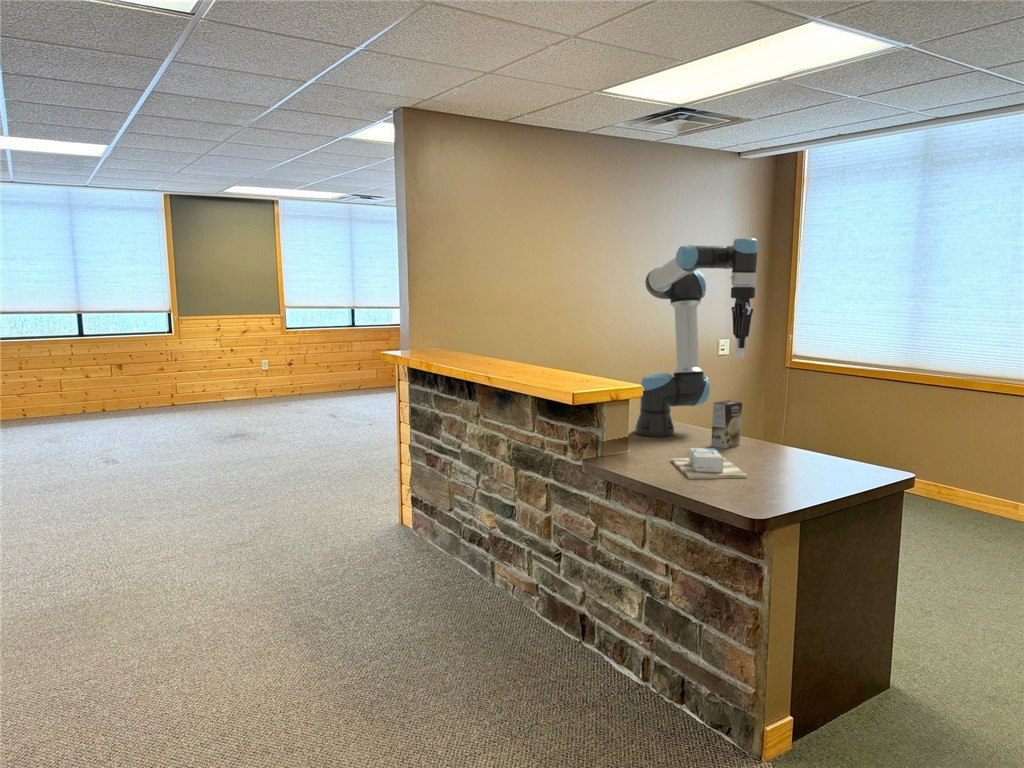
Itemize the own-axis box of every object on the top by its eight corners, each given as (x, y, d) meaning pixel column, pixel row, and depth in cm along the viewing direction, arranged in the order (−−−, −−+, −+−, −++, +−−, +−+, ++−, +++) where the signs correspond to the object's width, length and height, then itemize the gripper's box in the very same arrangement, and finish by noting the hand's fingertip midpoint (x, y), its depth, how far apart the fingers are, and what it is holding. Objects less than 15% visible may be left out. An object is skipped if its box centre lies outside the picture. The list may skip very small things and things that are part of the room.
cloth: (671, 461, 230) (671, 458, 230) (724, 460, 230) (724, 457, 230) (689, 478, 210) (689, 475, 210) (746, 477, 211) (747, 474, 211)
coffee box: (725, 449, 246) (727, 405, 244) (710, 445, 251) (712, 402, 249) (740, 445, 252) (742, 402, 249) (725, 441, 257) (727, 399, 254)
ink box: (715, 448, 224) (724, 457, 212) (715, 462, 224) (723, 472, 213) (689, 447, 224) (696, 456, 213) (688, 462, 225) (695, 471, 213)
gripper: (725, 286, 232) (721, 355, 236) (739, 286, 219) (735, 359, 223) (746, 286, 232) (743, 355, 236) (762, 286, 219) (758, 359, 223)
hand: (739, 357), depth 229 cm, fingers closed
